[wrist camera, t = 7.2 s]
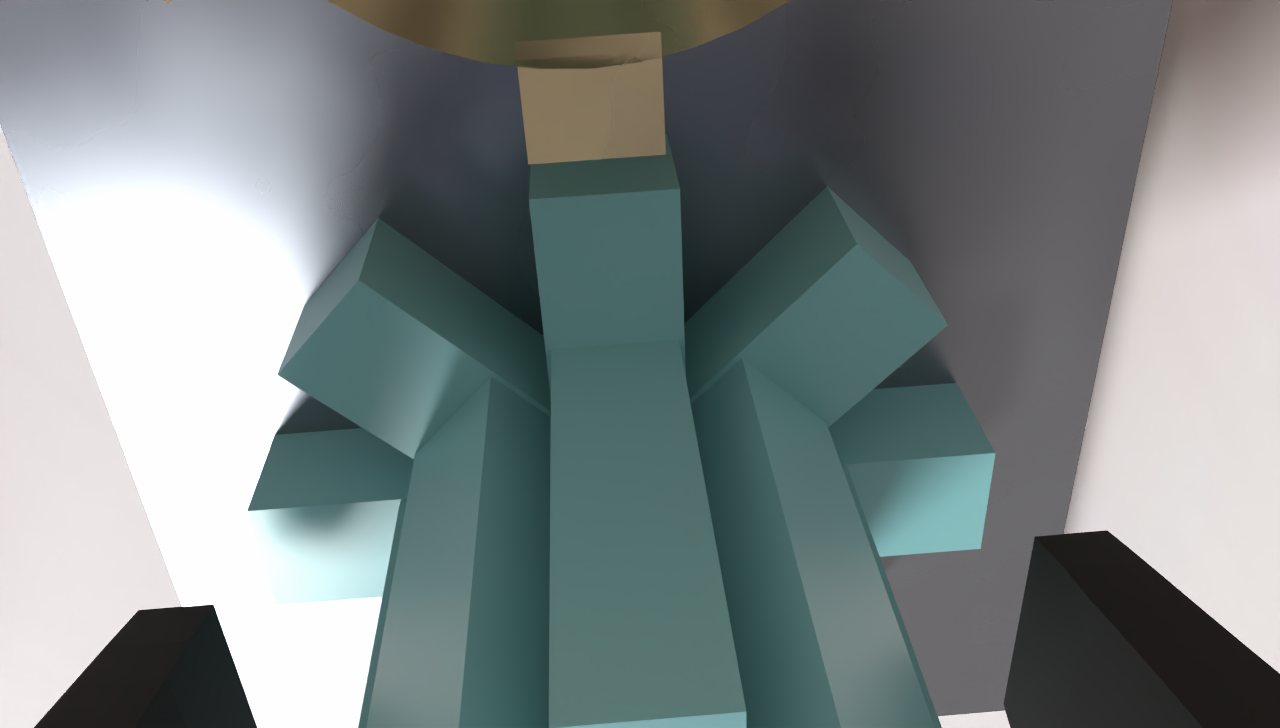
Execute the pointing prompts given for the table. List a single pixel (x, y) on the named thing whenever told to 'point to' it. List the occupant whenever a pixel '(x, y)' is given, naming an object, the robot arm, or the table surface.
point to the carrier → (503, 240)
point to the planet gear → (625, 473)
